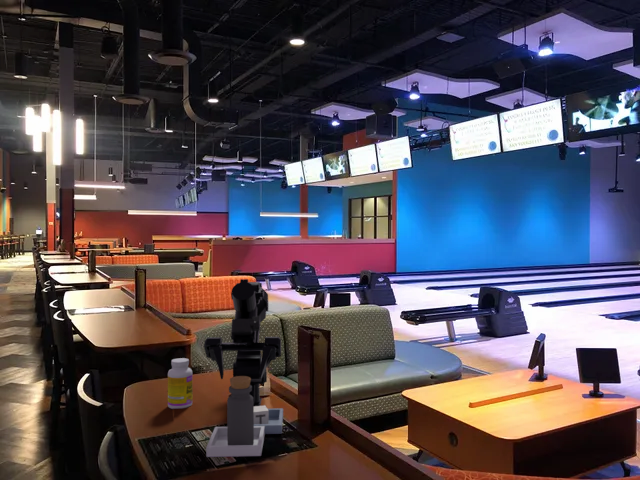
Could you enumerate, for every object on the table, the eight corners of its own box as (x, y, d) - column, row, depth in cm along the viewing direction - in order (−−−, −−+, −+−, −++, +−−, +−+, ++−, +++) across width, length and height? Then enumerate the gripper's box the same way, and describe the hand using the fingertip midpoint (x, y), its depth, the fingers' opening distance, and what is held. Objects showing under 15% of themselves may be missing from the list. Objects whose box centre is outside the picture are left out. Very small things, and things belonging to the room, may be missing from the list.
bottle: (254, 448, 115) (254, 381, 115) (228, 451, 114) (227, 383, 114) (252, 438, 121) (252, 374, 121) (226, 440, 120) (226, 375, 119)
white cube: (249, 422, 131) (249, 406, 131) (265, 421, 132) (265, 405, 132) (252, 428, 127) (252, 412, 127) (268, 426, 128) (268, 410, 128)
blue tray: (238, 418, 135) (238, 409, 135) (283, 417, 136) (283, 408, 136) (232, 436, 124) (232, 425, 124) (281, 435, 124) (281, 425, 124)
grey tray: (215, 437, 123) (215, 426, 123) (264, 436, 123) (264, 426, 123) (206, 459, 111) (206, 447, 111) (261, 458, 112) (260, 446, 112)
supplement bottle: (188, 410, 141) (188, 363, 141) (164, 410, 141) (164, 363, 141) (195, 402, 148) (195, 357, 148) (172, 402, 148) (171, 357, 148)
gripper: (204, 305, 129) (196, 361, 118) (280, 304, 130) (279, 360, 119) (210, 330, 137) (203, 385, 127) (281, 329, 138) (280, 383, 127)
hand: (241, 378), depth 125 cm, fingers open, 9 cm apart
